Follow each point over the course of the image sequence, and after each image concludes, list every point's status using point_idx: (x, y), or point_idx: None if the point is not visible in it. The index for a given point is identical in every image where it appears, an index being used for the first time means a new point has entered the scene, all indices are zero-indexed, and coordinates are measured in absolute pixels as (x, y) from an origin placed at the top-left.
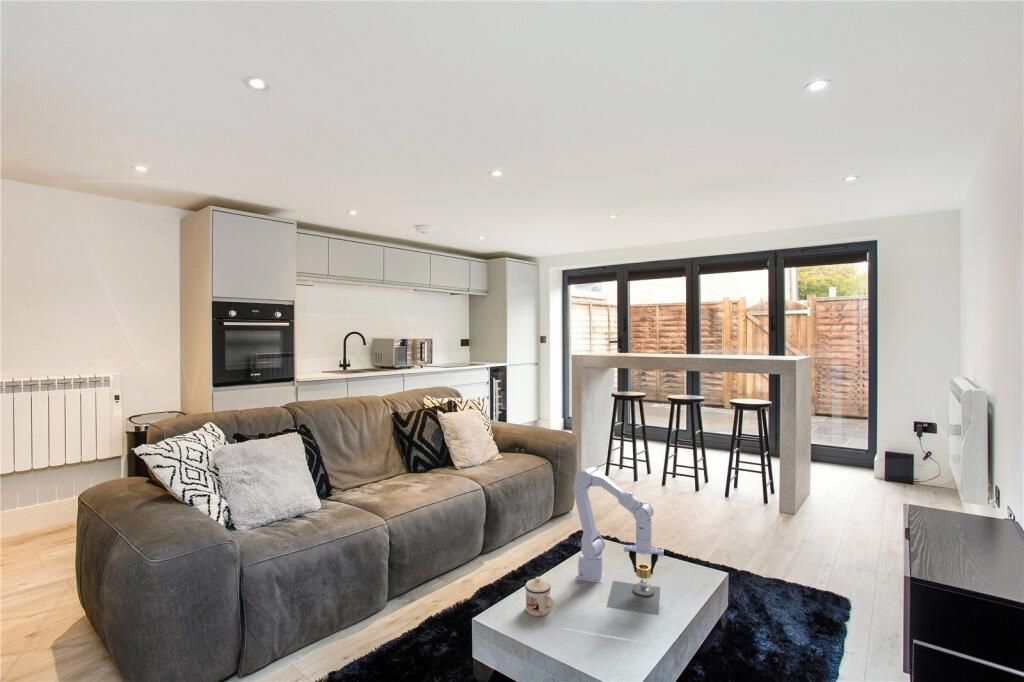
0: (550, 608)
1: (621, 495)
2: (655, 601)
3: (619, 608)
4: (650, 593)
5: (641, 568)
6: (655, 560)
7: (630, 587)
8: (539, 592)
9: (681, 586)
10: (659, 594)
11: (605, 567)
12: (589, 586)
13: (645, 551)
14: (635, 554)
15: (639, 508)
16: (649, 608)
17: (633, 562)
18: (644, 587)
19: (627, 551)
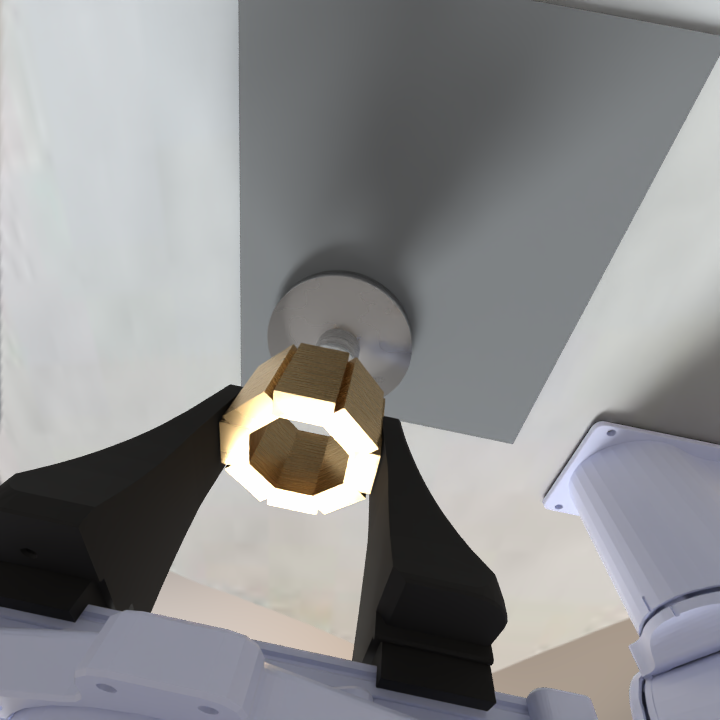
0: None
1: None
2: (266, 209)
3: (599, 23)
4: (294, 287)
5: (325, 463)
6: (43, 477)
7: (419, 378)
8: None
9: (139, 406)
10: (243, 309)
11: (510, 552)
12: (699, 386)
13: (100, 710)
14: (377, 623)
15: None
16: (315, 78)
17: (415, 494)
18: (330, 335)
19: (513, 696)
